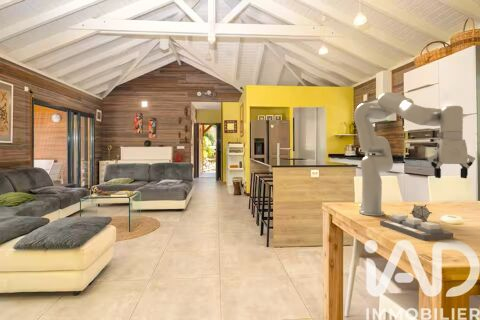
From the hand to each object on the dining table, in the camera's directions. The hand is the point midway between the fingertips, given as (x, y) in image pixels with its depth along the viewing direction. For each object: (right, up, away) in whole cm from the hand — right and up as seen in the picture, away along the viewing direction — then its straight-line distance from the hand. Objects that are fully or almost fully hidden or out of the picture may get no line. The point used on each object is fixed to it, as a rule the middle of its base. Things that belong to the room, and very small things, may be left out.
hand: (450, 177), depth 121 cm
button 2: (-11, -20, -4) cm, 23 cm away
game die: (0, -22, +21) cm, 31 cm away
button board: (-13, -23, +4) cm, 27 cm away
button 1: (-15, -19, +11) cm, 27 cm away
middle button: (-13, -20, +4) cm, 24 cm away
